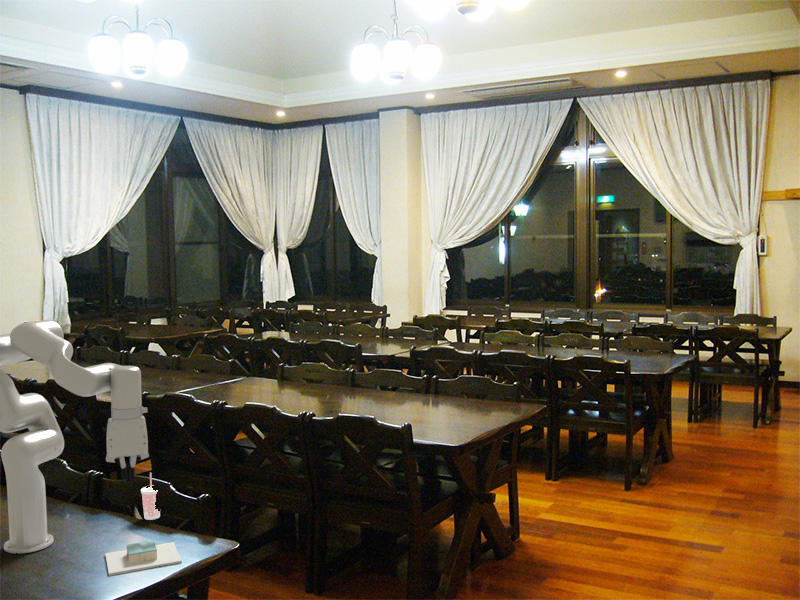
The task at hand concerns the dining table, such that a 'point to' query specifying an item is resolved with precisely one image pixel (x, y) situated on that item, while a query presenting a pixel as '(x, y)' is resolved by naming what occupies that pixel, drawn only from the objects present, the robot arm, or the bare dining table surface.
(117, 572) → the off-white board
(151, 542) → the tan notched wooden block
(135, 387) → the robot arm
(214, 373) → the dining table surface
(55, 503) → the dining table surface
